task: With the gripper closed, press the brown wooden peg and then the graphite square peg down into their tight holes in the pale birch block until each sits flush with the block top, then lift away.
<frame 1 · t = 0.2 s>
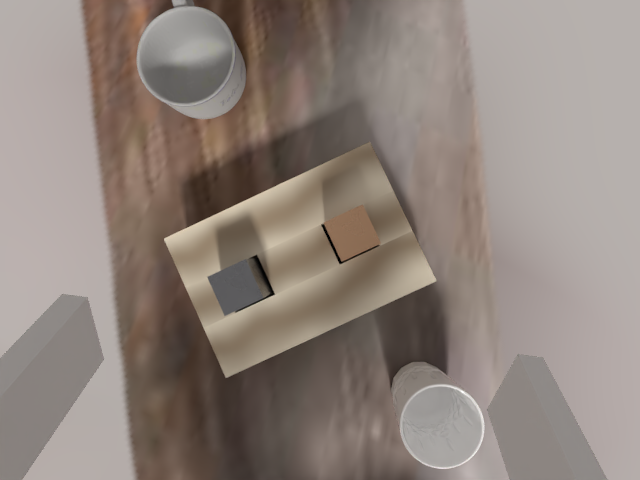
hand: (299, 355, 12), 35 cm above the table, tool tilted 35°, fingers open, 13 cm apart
graphite peg: (242, 284, 40), point 8 cm above the table, slide at 0.0 cm
brown wooden peg: (350, 234, 39), point 8 cm above the table, slide at 0.0 cm
press block: (303, 258, 48), on the table
teacup: (209, 74, 49), on the table
white cup: (418, 388, 47), on the table
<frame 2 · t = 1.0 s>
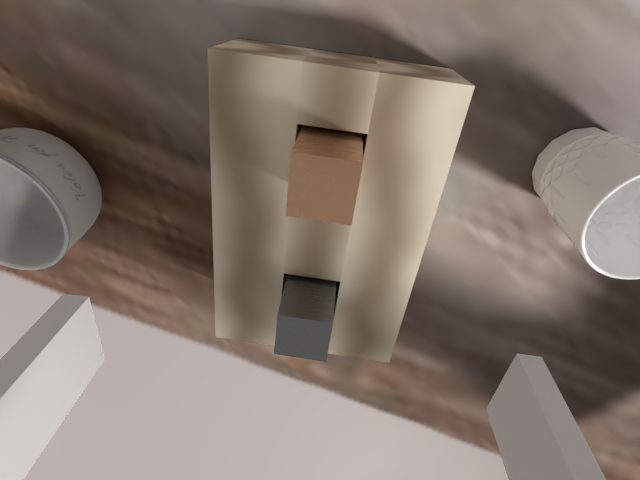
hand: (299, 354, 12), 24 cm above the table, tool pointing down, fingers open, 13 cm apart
graphite peg: (307, 311, 31), point 8 cm above the table, slide at 0.0 cm
brown wooden peg: (326, 171, 25), point 8 cm above the table, slide at 0.0 cm
press block: (324, 198, 35), on the table
teacup: (45, 166, 36), on the table
white cup: (573, 166, 32), on the table
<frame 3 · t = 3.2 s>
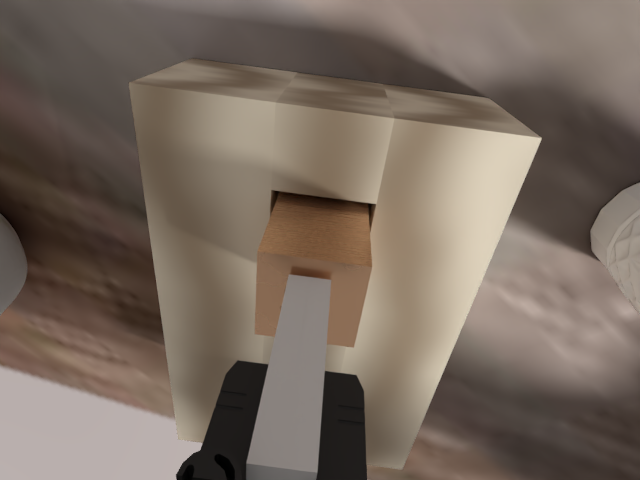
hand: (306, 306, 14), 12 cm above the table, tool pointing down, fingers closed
brown wooden peg: (315, 257, 17), point 8 cm above the table, slide at 0.2 cm, touching gripper
press block: (316, 260, 27), on the table
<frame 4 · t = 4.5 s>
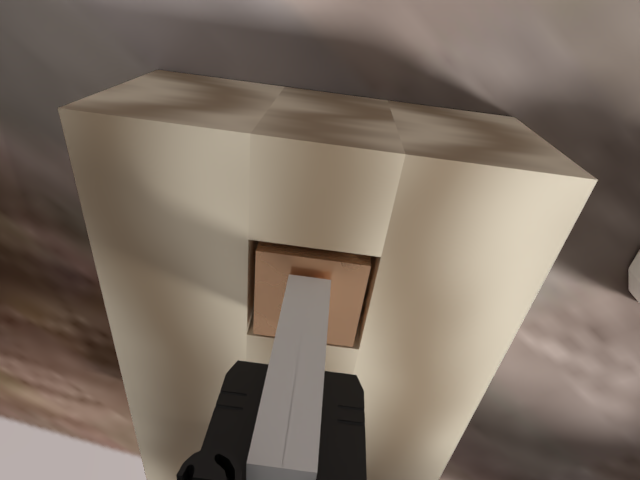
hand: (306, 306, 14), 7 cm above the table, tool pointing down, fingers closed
brown wooden peg: (314, 256, 17), point 4 cm above the table, slide at 4.3 cm, touching gripper
press block: (309, 298, 24), on the table
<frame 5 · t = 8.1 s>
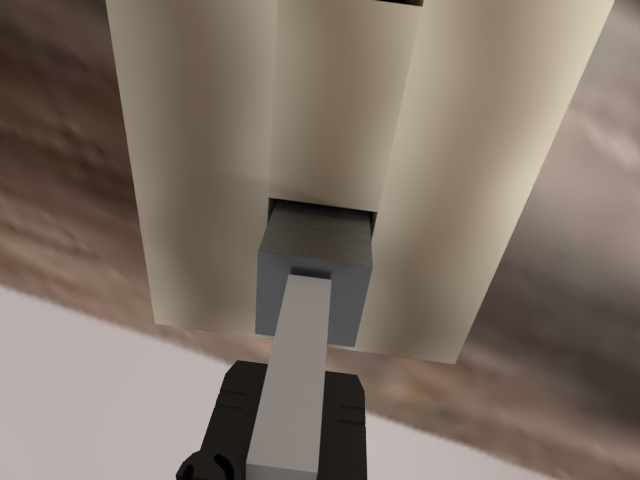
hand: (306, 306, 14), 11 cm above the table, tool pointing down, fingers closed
graphite peg: (316, 257, 17), point 8 cm above the table, slide at 1.0 cm, touching gripper
press block: (340, 80, 20), on the table
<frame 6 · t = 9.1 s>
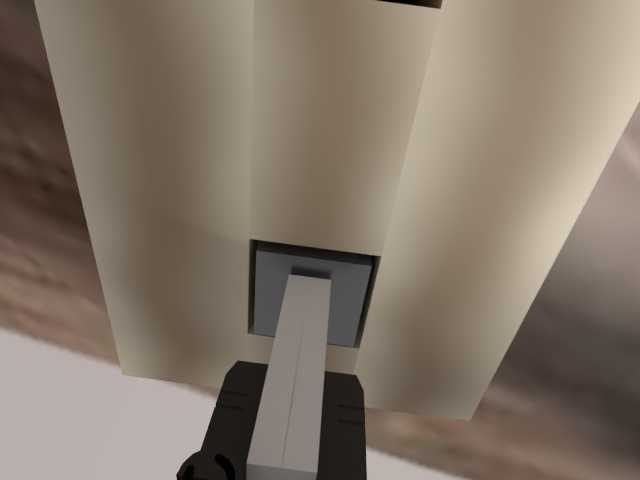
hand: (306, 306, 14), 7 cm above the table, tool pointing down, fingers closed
graphite peg: (314, 256, 17), point 4 cm above the table, slide at 4.3 cm, touching gripper
press block: (336, 93, 17), on the table
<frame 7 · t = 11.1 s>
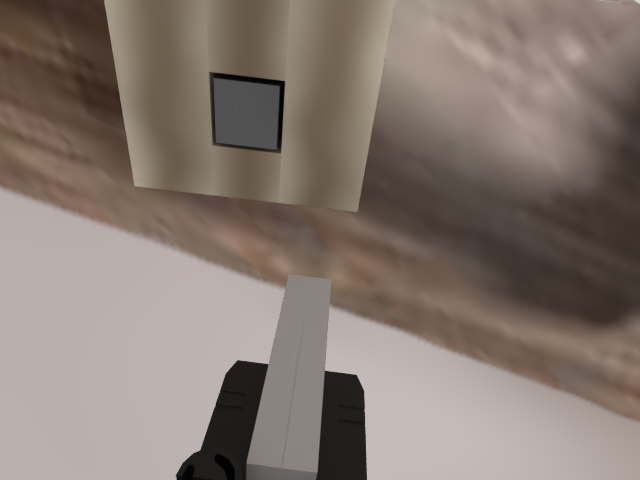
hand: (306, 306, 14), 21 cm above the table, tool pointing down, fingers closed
graphite peg: (255, 103, 27), point 4 cm above the table, slide at 4.3 cm
press block: (267, 1, 28), on the table
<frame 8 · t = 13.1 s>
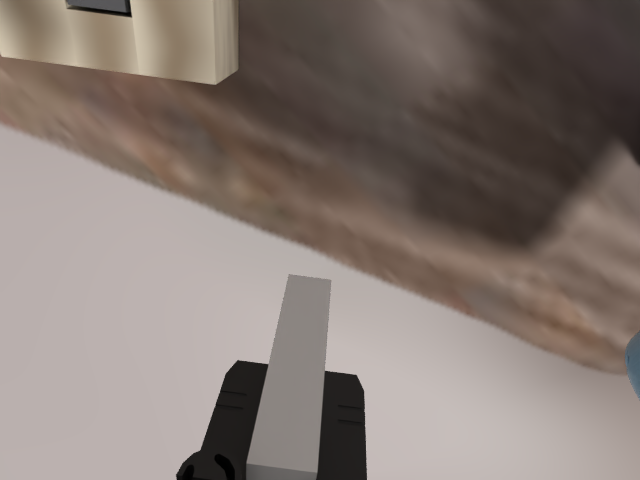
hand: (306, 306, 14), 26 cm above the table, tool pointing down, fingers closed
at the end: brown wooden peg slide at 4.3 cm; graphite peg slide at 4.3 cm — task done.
